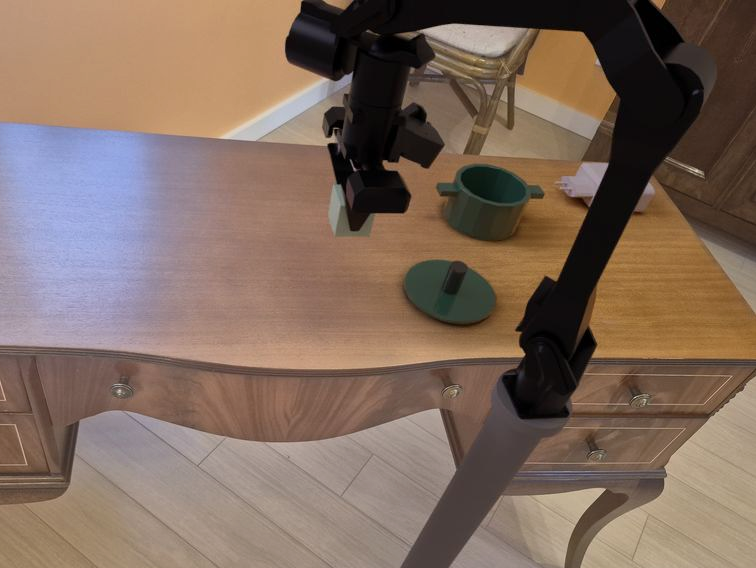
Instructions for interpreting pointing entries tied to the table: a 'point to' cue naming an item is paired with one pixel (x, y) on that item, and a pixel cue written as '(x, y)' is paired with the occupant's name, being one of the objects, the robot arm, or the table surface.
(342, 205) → the block
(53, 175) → the table surface
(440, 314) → the lid
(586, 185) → the charger
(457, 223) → the pot
